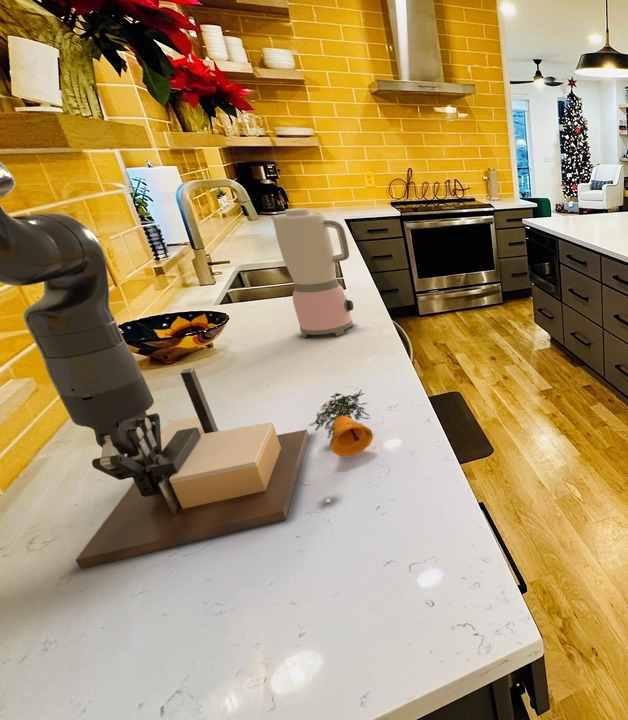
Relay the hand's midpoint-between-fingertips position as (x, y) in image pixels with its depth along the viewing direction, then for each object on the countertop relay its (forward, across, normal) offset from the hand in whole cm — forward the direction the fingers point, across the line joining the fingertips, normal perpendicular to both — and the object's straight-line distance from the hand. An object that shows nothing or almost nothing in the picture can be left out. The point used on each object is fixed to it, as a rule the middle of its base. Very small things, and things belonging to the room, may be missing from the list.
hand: (154, 492), depth 69 cm
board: (+3, -2, +6) cm, 7 cm away
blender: (+2, -72, +15) cm, 74 cm away
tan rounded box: (+1, -2, +9) cm, 9 cm away
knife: (+1, -2, +3) cm, 4 cm away
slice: (+1, -9, +1) cm, 9 cm away
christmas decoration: (+3, -3, +24) cm, 24 cm away
